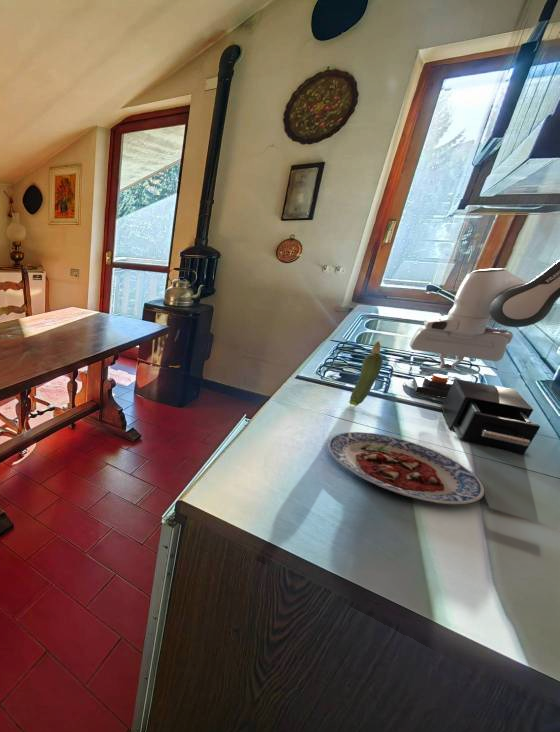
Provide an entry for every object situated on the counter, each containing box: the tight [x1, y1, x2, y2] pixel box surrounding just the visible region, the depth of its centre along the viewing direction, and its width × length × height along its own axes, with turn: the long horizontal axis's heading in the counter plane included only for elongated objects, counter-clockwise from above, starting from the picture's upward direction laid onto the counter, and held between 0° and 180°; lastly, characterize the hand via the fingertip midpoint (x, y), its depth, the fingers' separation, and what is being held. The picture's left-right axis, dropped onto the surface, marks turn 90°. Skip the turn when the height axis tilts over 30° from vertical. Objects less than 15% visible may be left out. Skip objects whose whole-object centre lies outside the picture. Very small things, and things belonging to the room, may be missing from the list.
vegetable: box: [348, 340, 384, 407], centre depth 110 cm, size 4×4×20 cm
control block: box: [411, 375, 454, 399], centre depth 123 cm, size 10×10×4 cm
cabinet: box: [440, 378, 534, 432], centre depth 102 cm, size 15×12×10 cm
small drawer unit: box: [456, 400, 541, 456], centre depth 94 cm, size 18×10×8 cm, turn 144°
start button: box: [431, 373, 450, 383], centre depth 122 cm, size 4×4×2 cm
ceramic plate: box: [327, 431, 485, 505], centre depth 84 cm, size 26×26×3 cm
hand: (445, 368), depth 120 cm, fingers closed
